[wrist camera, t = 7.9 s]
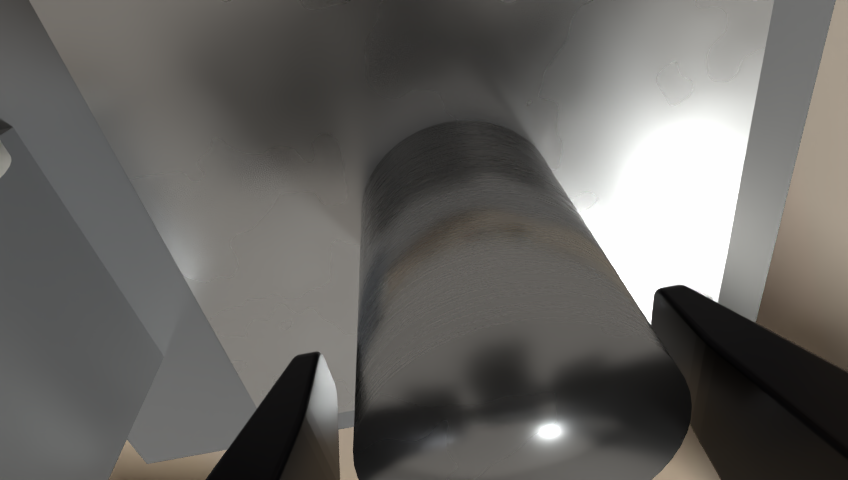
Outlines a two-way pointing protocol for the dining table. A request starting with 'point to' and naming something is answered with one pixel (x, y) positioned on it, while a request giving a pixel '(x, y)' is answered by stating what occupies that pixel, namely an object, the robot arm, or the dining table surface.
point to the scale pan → (407, 135)
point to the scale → (168, 290)
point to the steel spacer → (499, 326)
